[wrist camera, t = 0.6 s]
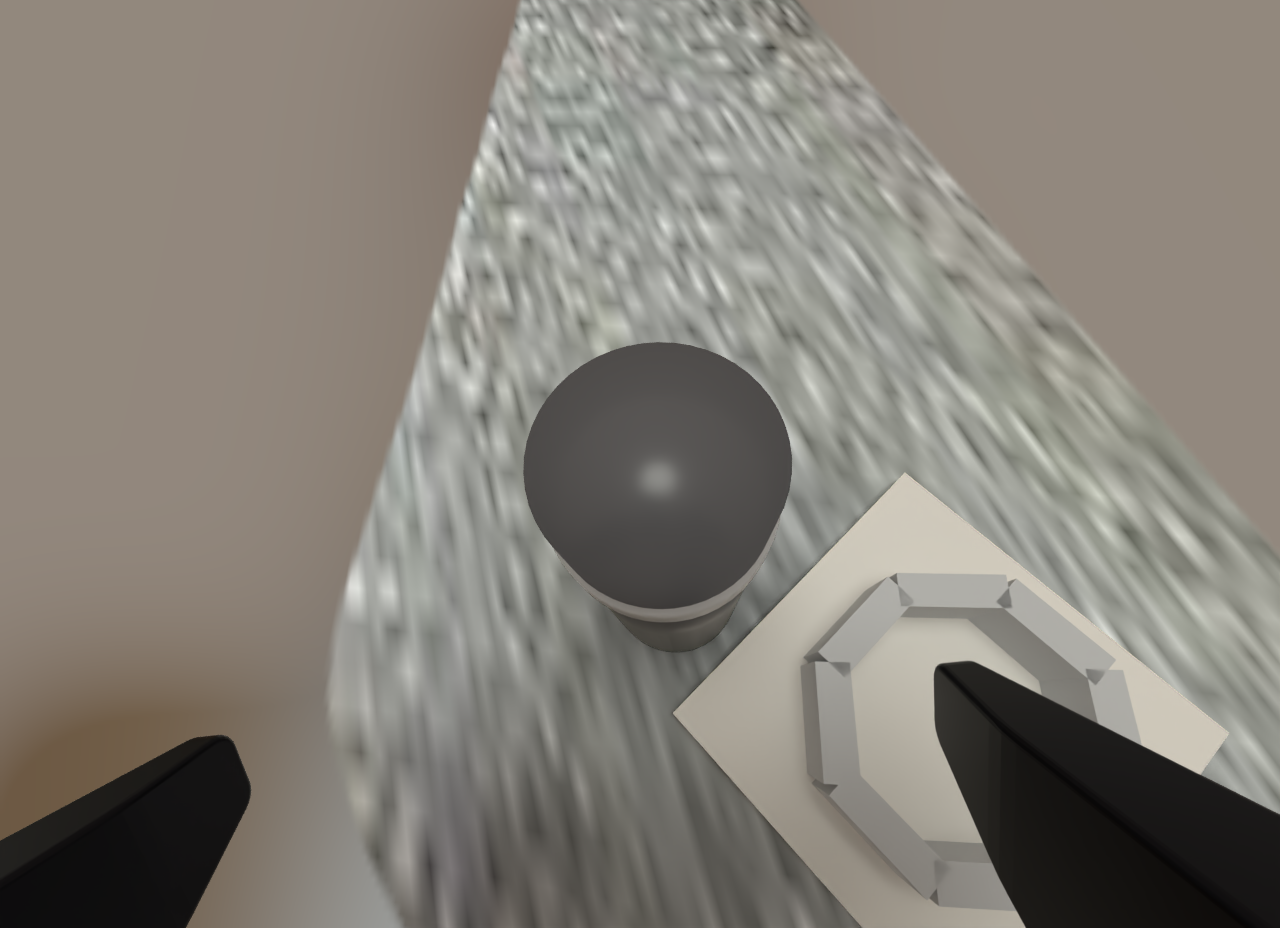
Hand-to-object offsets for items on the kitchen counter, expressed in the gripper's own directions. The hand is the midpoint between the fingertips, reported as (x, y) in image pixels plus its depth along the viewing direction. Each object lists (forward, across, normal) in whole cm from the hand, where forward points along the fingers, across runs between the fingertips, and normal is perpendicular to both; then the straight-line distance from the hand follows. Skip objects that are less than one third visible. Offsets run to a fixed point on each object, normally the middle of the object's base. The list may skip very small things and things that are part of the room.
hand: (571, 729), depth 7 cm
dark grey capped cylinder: (+14, -1, +5) cm, 15 cm away
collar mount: (+11, -9, +10) cm, 17 cm away
